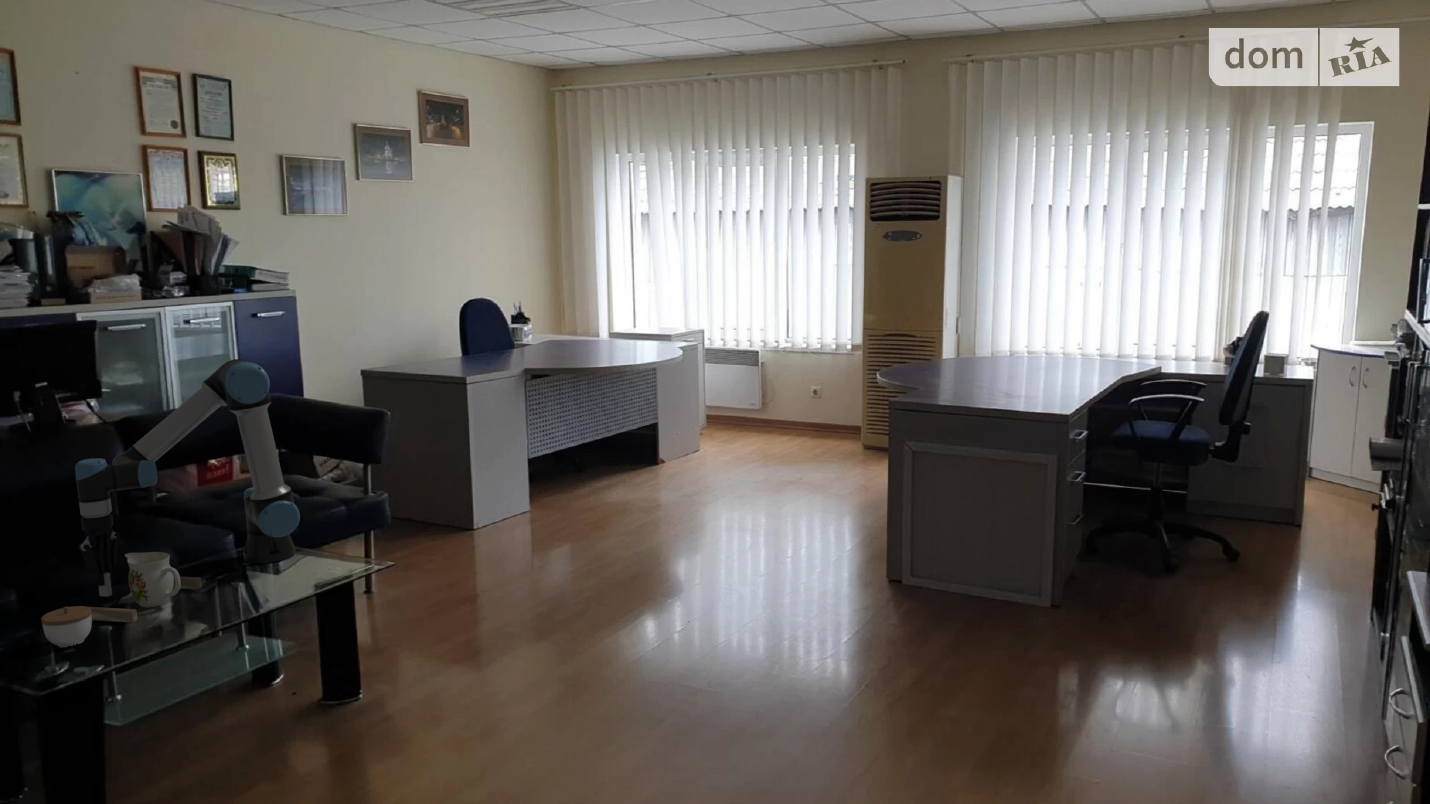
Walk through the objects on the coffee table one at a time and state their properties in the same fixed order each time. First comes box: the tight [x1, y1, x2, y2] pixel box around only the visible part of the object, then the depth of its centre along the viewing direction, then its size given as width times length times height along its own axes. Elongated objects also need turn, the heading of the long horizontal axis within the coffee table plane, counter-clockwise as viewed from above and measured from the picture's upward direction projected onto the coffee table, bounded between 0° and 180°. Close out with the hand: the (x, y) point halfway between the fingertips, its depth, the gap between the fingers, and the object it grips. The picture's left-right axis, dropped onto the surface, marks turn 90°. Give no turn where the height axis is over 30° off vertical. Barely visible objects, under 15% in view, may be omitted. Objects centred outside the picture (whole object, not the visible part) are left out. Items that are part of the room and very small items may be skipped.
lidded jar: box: [40, 605, 93, 648], centre depth 256 cm, size 11×11×9 cm
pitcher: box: [124, 551, 181, 608], centre depth 282 cm, size 11×18×14 cm, turn 72°
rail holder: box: [88, 576, 203, 623], centre depth 283 cm, size 27×15×3 cm, turn 169°
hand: (105, 595), depth 286 cm, fingers closed
